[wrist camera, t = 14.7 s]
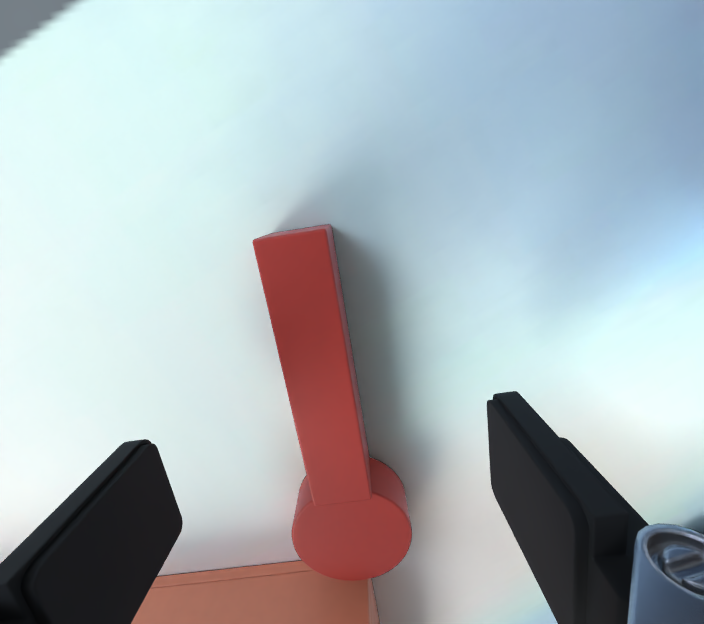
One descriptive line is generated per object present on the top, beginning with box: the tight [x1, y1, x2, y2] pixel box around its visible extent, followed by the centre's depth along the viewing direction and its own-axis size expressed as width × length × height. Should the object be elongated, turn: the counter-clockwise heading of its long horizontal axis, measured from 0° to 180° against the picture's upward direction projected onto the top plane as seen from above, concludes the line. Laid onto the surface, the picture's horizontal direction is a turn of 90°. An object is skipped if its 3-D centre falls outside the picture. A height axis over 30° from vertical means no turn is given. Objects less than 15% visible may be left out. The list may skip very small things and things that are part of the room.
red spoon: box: [253, 224, 412, 581], centre depth 12 cm, size 4×13×2 cm, turn 9°
